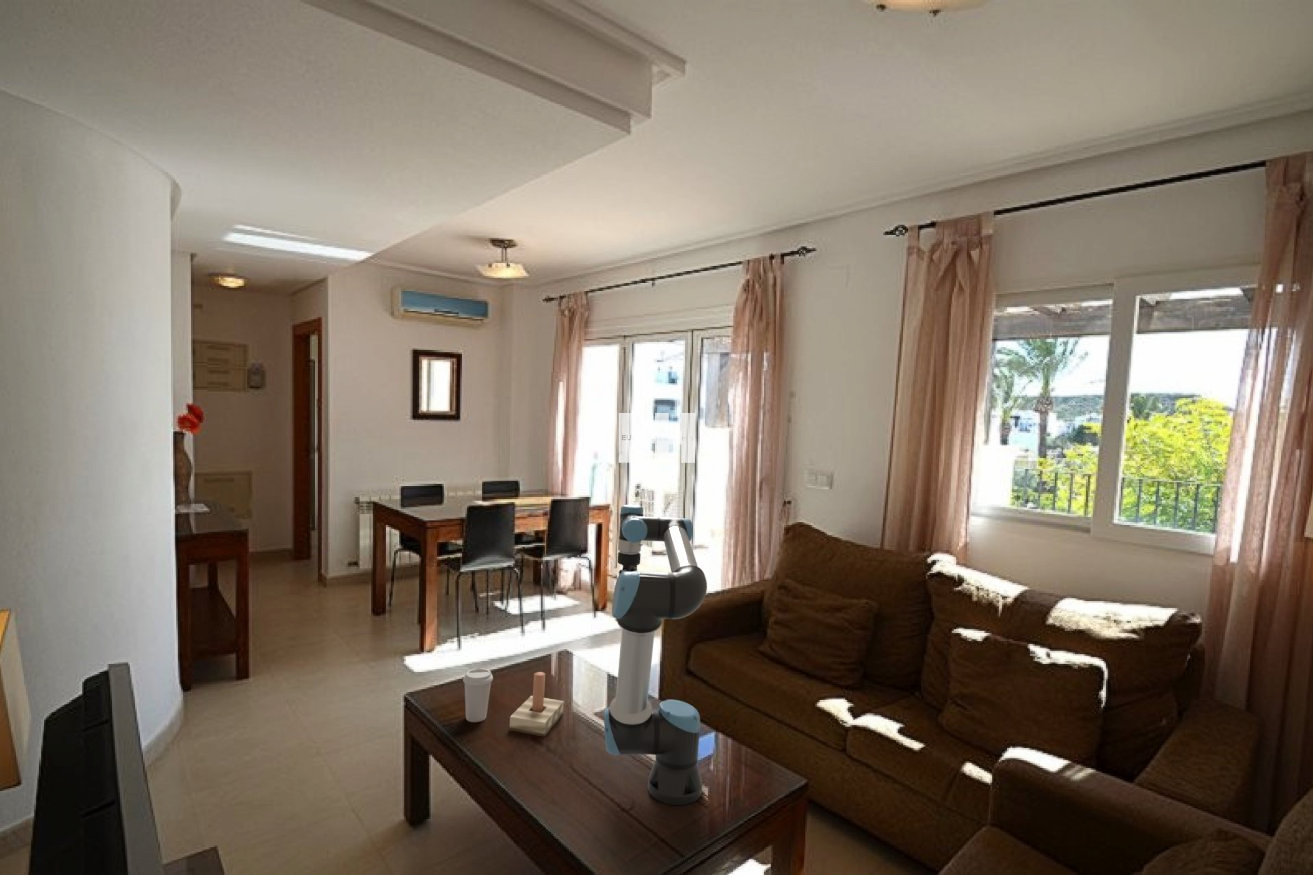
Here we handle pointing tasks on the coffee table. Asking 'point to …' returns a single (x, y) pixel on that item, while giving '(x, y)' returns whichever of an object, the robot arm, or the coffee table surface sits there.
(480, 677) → the coffee cup
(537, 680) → the pin
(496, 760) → the coffee table surface
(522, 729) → the bore block
